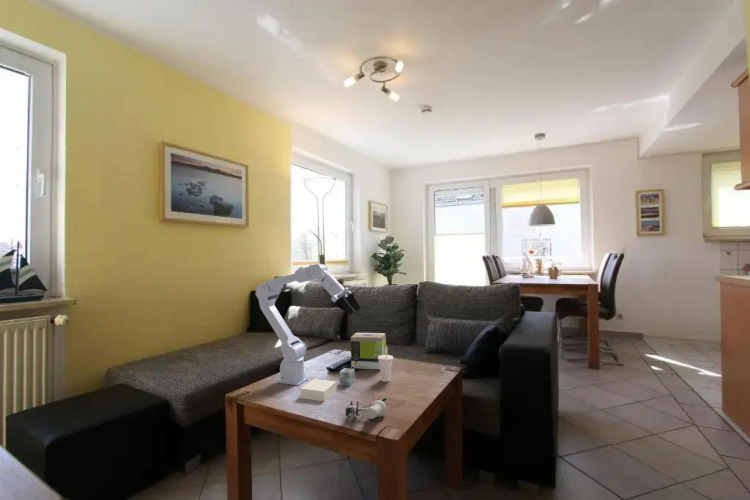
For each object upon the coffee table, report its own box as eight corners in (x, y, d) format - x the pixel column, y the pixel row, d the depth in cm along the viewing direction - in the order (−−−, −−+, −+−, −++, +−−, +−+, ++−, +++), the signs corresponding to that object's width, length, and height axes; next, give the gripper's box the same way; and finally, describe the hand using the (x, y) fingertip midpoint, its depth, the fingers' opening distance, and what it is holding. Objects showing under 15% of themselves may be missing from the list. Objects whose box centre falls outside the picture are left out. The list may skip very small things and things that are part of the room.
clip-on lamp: (363, 410, 126) (342, 421, 110) (363, 391, 128) (342, 399, 111) (395, 411, 122) (377, 423, 106) (394, 391, 124) (376, 400, 107)
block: (339, 385, 142) (339, 371, 142) (344, 381, 146) (344, 367, 146) (350, 386, 140) (350, 372, 140) (354, 382, 145) (354, 369, 145)
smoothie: (392, 383, 142) (391, 349, 142) (376, 382, 144) (376, 348, 144) (394, 377, 149) (393, 344, 149) (379, 376, 150) (379, 344, 150)
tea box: (386, 363, 168) (386, 332, 168) (382, 370, 158) (381, 337, 158) (356, 361, 171) (356, 331, 171) (350, 368, 161) (350, 336, 161)
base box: (300, 399, 130) (300, 388, 130) (314, 388, 139) (313, 378, 139) (324, 402, 126) (324, 391, 126) (336, 391, 136) (336, 381, 136)
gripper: (331, 281, 133) (355, 307, 130) (346, 278, 147) (368, 301, 144) (319, 294, 135) (343, 320, 132) (336, 289, 148) (357, 313, 145)
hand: (355, 311), depth 138 cm, fingers open, 7 cm apart
